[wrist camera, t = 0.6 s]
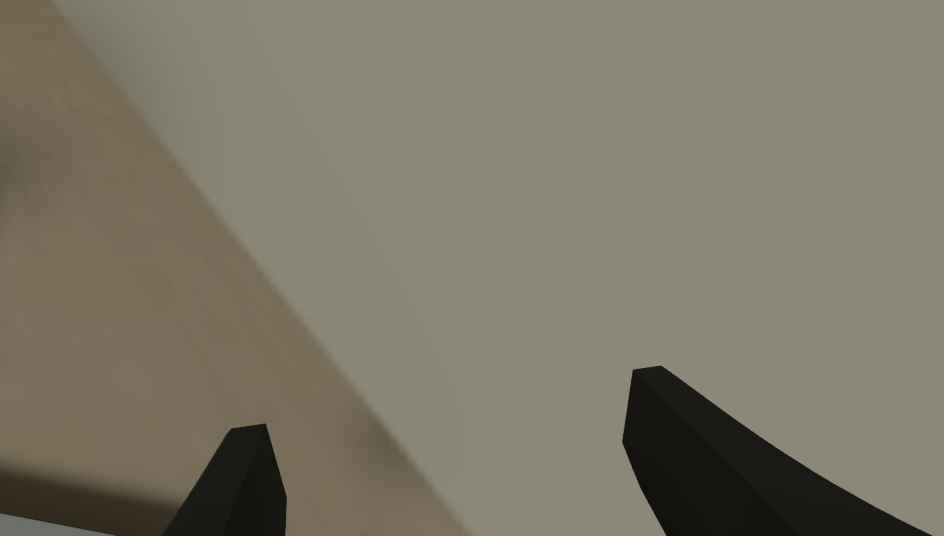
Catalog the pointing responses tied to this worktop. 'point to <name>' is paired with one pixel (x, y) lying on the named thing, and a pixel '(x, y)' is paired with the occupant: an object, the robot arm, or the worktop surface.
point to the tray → (38, 528)
